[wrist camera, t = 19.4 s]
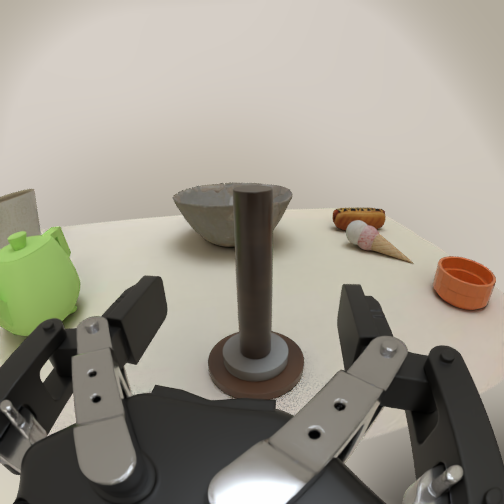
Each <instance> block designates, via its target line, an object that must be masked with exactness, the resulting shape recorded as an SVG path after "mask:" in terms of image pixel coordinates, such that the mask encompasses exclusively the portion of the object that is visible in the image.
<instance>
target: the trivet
mask: <svg viewBox="0 0 504 504" xmlns="http://www.w3.org/2000/svg"><path fill="white" fill-rule="evenodd" d="M271 332H272V331H271ZM238 333H239V332H238ZM238 333H234V334H232V335H229V336H227V337H225V338H224V339H222V340H221V341H219V342H218V343H217V344H216V345H215V346H214V348H213V349H212V351H211V353H210V355H209V359H208V366H209V372H210V376H211V378H212V380H213V382H214V383H215V385H216V386H217V387H218V388H219V389H221V390H222V391H223V392H225V393H226V394H228V395H230V396H232V397H235V398H253V399H267V400H269V399H273V398H276V397H279V396H281V395H283V394H285V393H287V392H288V391H290V390H291V389H292V388H293V387H294V386H295V385H296V384H297V383H298V382H299V380H300V378H301V376H302V373H303V366H304V357H303V353H302V351H301V349H300V348H299V346H298V345H297V344H296V343H295V342H294V341H292V340H291V339H290V338H288V337H286V336H284V335H282V334H279V333H276V332H272V333H274V334H276V335H278V336H280V337H281V338H282V339H283V340H284V341H285V342H286V344H287V346H288V362H287V365H286V367H285V369H284V370H283V371H282V372H281V373H280V374H279V375H277V376H276V377H274V378H271V379H269V380H265V381H257V382H254V381H246V380H242V379H239V378H237V377H235V376H233V375H232V374H231V373H230V372H229V371H228V370H227V369H226V367H225V365H224V360H223V347H224V345H225V343H226V342H227V341H228V339H230V338H231V337H232V336H234V335H236V334H238Z"/></svg>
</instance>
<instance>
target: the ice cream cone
mask: <svg viewBox="0 0 504 504" xmlns="http://www.w3.org/2000/svg"><path fill="white" fill-rule="evenodd" d="M346 236H347V238H348V240H349V241H350V242H351V243H353V244H355V245H359V247H360V248H362V249H364V250H373V251H377V252H380V253H383V254H386V255H389V256H392V257H395V258H398V259H401V260H404V261H407V262H410V263H413V262H412V261H410V260H409V259H408V258H407V257H406V256H405V255H404V254H402V253H401V252H400V251H399V250H398V249H397V248H395V247H394V246H393V245H392V244H391V243H390V242H388V241H387V240H386V239H385V238H384V237H382V236H381V235H380V234H379V232H378V230H377V229H376V228H375V227H373V226H369V225H367V224H366V223H365V222H363V221H360V220H356V221H353V222H351V223H350V224H349V225H348V227H347V229H346ZM413 264H414V263H413Z"/></svg>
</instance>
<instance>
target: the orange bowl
mask: <svg viewBox="0 0 504 504" xmlns="http://www.w3.org/2000/svg"><path fill="white" fill-rule="evenodd" d="M495 282H496V277H495V276H494V274H493V273H492V272H491V271H490V270H489V269H488V268H487V267H485V266H483V265H482V264H480V263H477V262H475V261H473V260H470V259H466V258H462V257H453V256H449V257H443V258H442V259H440V260H439V262H438V266H437V270H436V274H435V278H434V282H433V286H434V289H435V291H436V292H437V293H438V295H439V296H440V297H441V298H442V299H443V300H444V301H446V302H447V303H449V304H451V305H453V306H455V307H458V308H461V309H466V310H476V309H480V308H483V307H485V306H486V305H487V304H488V303H489V300H490V297H491V294H492V292H493V289H494V286H495Z"/></svg>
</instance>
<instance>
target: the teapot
mask: <svg viewBox="0 0 504 504" xmlns="http://www.w3.org/2000/svg"><path fill="white" fill-rule="evenodd" d="M7 239H8V242H9V243H10V244H9V245H7V246H5V247H3V248H2V249H0V326H1V327H3V328H4V329H6V330H7V331H9V332H11V333H13V334H14V335H22V336H29V335H30V334H31V333H32V332H33V331H34V329H35V328H36V327H37V326H38V325H39V324H40V323H42V322H43V321H45V320H48V319H52V318H57V319H60V320H61V321H63V320H64V319H65V318H66V317H67V316H68V315H69V314H72V313H74V312H75V311H76V310H77V306H75V304H76V301H77V298H78V296H79V291H80V280H79V277H78V274H77V272H76V269H75V267H74V265H73V263H72V262H71V260H70V258H69V257H70V254H71V251H70V249H69V247H68V244H67V242H66V240H65V237H64V235H63V232H62V230H61V227H51V228H50V229H49V230H48V231H46V232H45V233H44V234H43V235H37V236H29V237H26V232H25V231H21V232H17V233H14V234H12V235H10V236H9V237H8V238H7Z"/></svg>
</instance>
